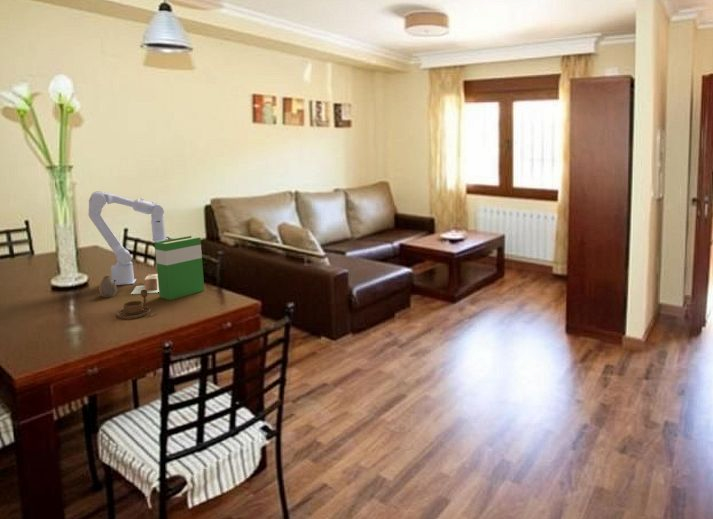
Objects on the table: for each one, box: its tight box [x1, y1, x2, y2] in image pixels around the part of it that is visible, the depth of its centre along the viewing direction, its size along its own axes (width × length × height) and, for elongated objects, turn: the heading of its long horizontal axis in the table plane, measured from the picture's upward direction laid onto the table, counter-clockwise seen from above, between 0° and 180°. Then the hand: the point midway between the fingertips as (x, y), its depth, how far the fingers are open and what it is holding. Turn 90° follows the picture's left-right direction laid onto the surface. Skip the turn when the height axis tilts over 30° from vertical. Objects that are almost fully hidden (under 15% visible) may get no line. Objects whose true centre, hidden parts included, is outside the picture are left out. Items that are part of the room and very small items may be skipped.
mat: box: [130, 284, 159, 295], centre depth 246 cm, size 16×13×1 cm
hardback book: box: [154, 235, 205, 301], centre depth 236 cm, size 18×7×24 cm, turn 142°
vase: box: [98, 275, 118, 298], centre depth 236 cm, size 7×7×9 cm
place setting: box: [116, 290, 157, 319], centre depth 215 cm, size 18×20×6 cm
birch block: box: [144, 273, 159, 290], centre depth 248 cm, size 5×5×10 cm
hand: (160, 257), depth 263 cm, fingers closed
